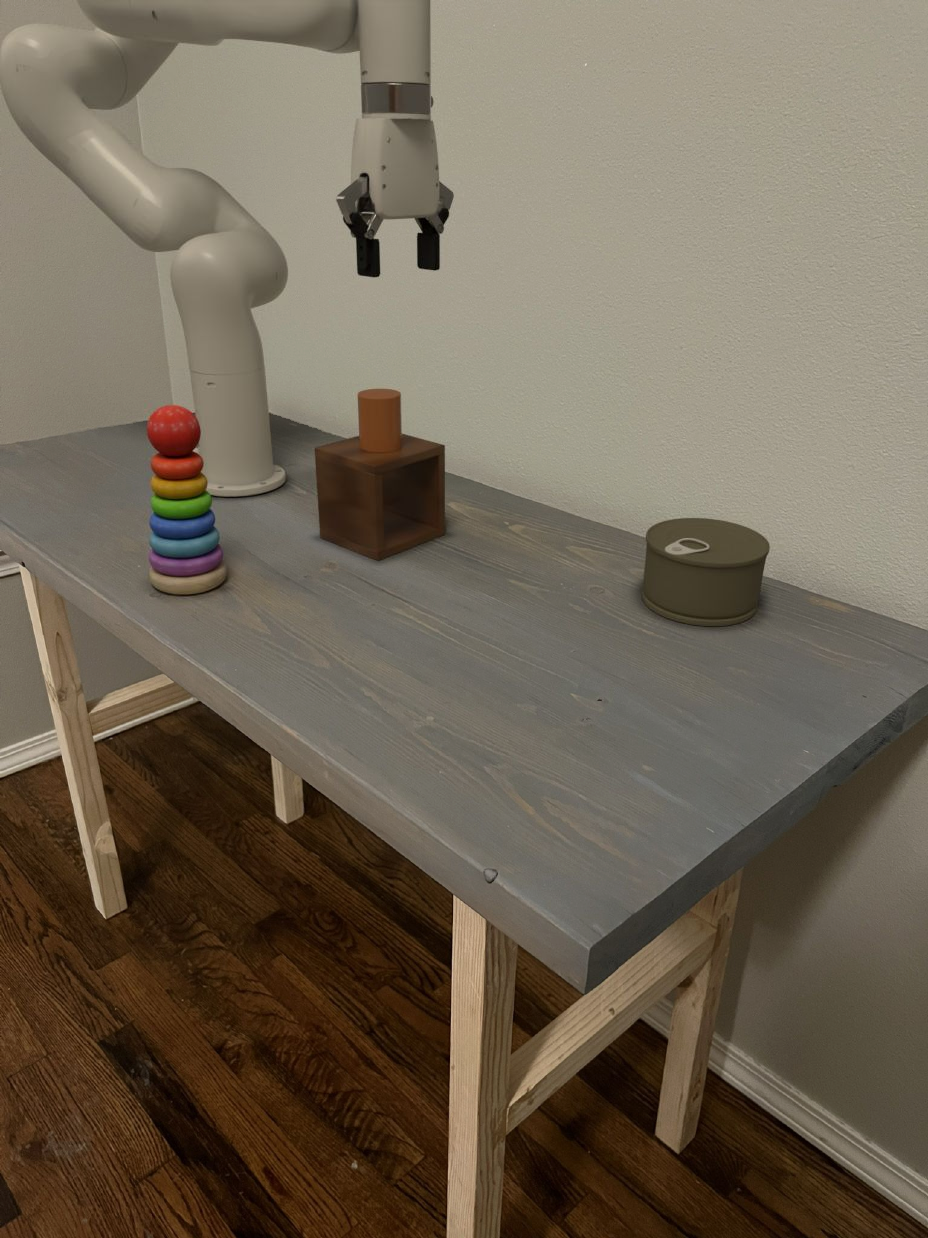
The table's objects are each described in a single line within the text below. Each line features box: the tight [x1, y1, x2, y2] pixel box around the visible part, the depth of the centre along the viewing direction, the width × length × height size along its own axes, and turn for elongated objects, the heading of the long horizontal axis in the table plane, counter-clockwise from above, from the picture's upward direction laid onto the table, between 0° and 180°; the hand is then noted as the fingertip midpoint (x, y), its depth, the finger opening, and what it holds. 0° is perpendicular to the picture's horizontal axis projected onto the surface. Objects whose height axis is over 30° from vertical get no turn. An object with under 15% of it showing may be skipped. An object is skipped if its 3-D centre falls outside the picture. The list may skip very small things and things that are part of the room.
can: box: [641, 517, 770, 627], centre depth 94 cm, size 12×12×7 cm
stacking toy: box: [146, 404, 228, 595], centre depth 94 cm, size 8×8×19 cm
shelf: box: [314, 433, 446, 562], centre depth 108 cm, size 10×11×11 cm
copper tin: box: [357, 388, 403, 452], centre depth 104 cm, size 5×5×6 cm
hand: (399, 272), depth 108 cm, fingers open, 9 cm apart
